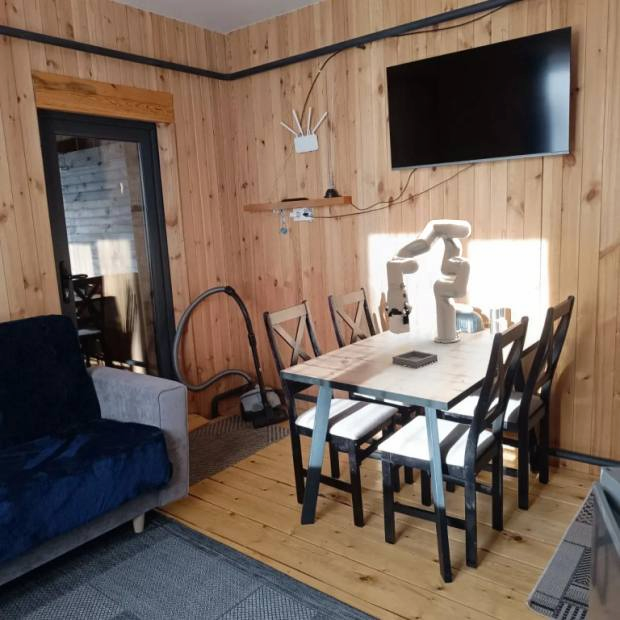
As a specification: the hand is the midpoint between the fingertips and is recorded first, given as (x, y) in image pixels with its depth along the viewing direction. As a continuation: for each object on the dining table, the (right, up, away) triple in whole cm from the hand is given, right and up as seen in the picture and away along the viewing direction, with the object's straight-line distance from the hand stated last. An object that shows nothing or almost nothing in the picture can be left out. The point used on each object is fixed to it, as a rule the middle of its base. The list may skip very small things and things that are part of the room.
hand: (398, 322), depth 275 cm
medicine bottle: (+1, -4, +1) cm, 5 cm away
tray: (+5, -17, -13) cm, 22 cm away
